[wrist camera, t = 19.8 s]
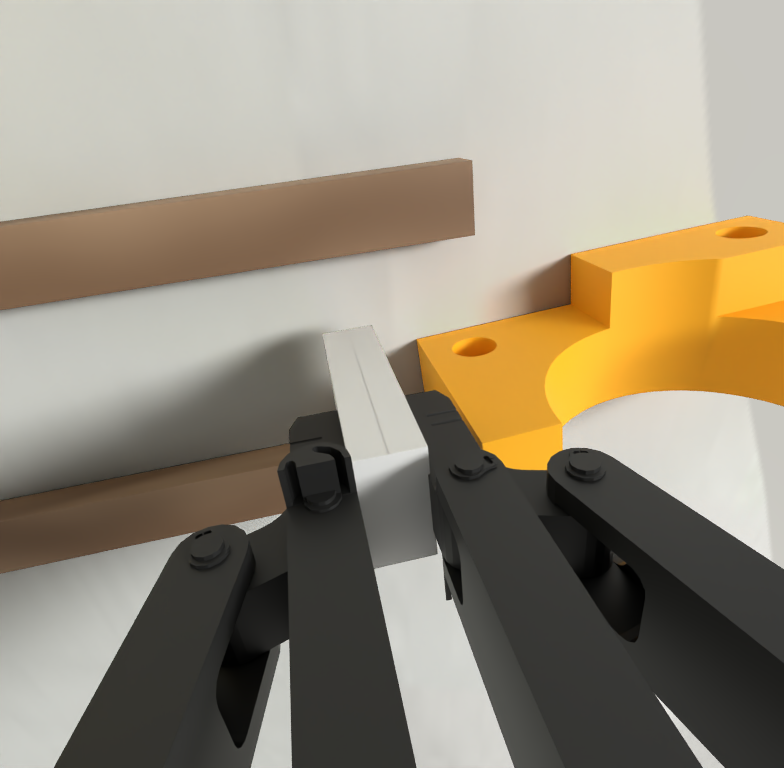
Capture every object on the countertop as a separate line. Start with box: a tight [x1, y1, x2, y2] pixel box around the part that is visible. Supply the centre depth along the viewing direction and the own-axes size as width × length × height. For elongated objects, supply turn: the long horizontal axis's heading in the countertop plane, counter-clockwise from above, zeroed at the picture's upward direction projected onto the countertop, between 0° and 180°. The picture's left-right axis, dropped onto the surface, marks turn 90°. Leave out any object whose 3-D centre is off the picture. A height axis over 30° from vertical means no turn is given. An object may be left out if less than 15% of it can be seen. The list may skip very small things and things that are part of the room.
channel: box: [0, 158, 475, 574], centre depth 16 cm, size 10×24×1 cm, turn 96°
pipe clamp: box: [417, 216, 784, 470], centre depth 15 cm, size 12×4×6 cm, turn 99°
